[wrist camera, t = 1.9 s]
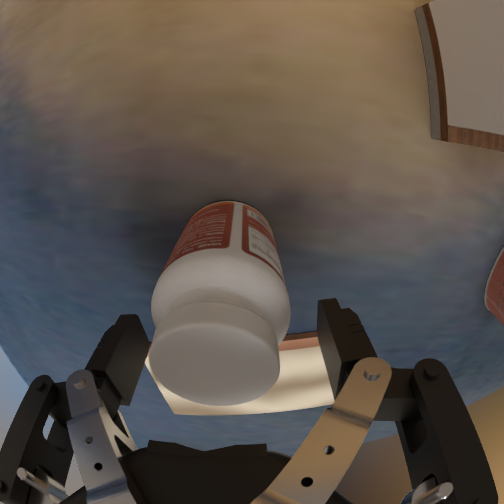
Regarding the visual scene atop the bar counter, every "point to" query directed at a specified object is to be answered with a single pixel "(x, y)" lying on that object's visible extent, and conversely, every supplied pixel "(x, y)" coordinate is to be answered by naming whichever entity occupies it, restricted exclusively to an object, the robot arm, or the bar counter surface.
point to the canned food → (496, 288)
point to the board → (285, 389)
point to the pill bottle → (220, 308)
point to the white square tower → (465, 70)
